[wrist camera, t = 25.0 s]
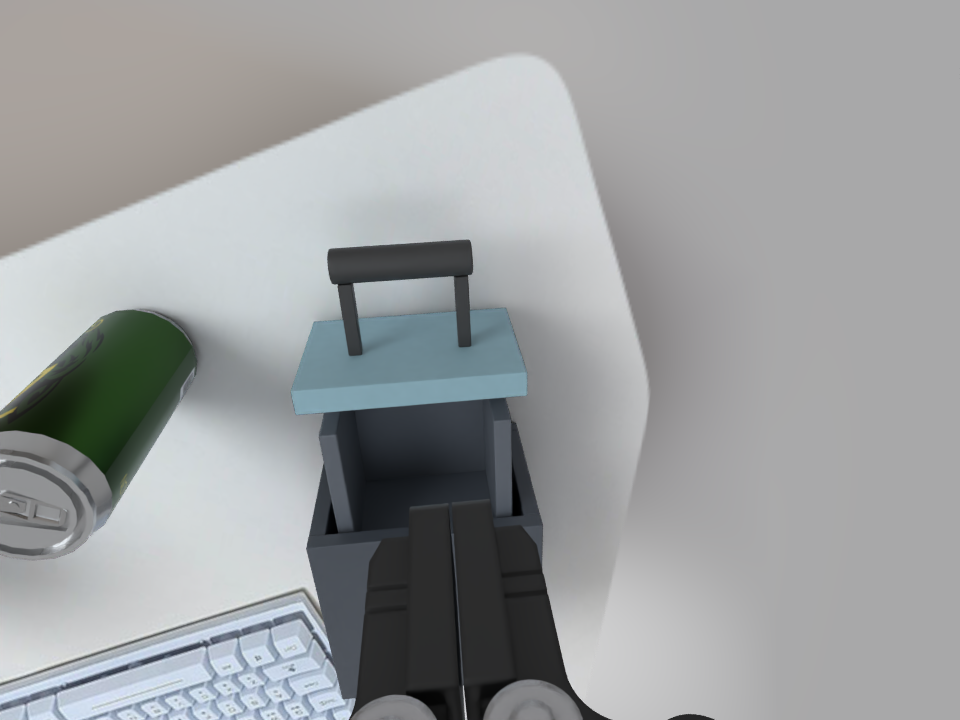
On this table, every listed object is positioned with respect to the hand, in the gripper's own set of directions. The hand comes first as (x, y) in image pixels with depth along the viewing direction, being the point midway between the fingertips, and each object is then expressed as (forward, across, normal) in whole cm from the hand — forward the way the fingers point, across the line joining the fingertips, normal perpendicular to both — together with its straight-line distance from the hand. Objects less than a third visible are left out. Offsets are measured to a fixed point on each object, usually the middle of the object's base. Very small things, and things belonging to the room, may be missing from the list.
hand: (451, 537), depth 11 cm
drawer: (+20, +2, +7) cm, 22 cm away
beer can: (+21, +15, +6) cm, 27 cm away
